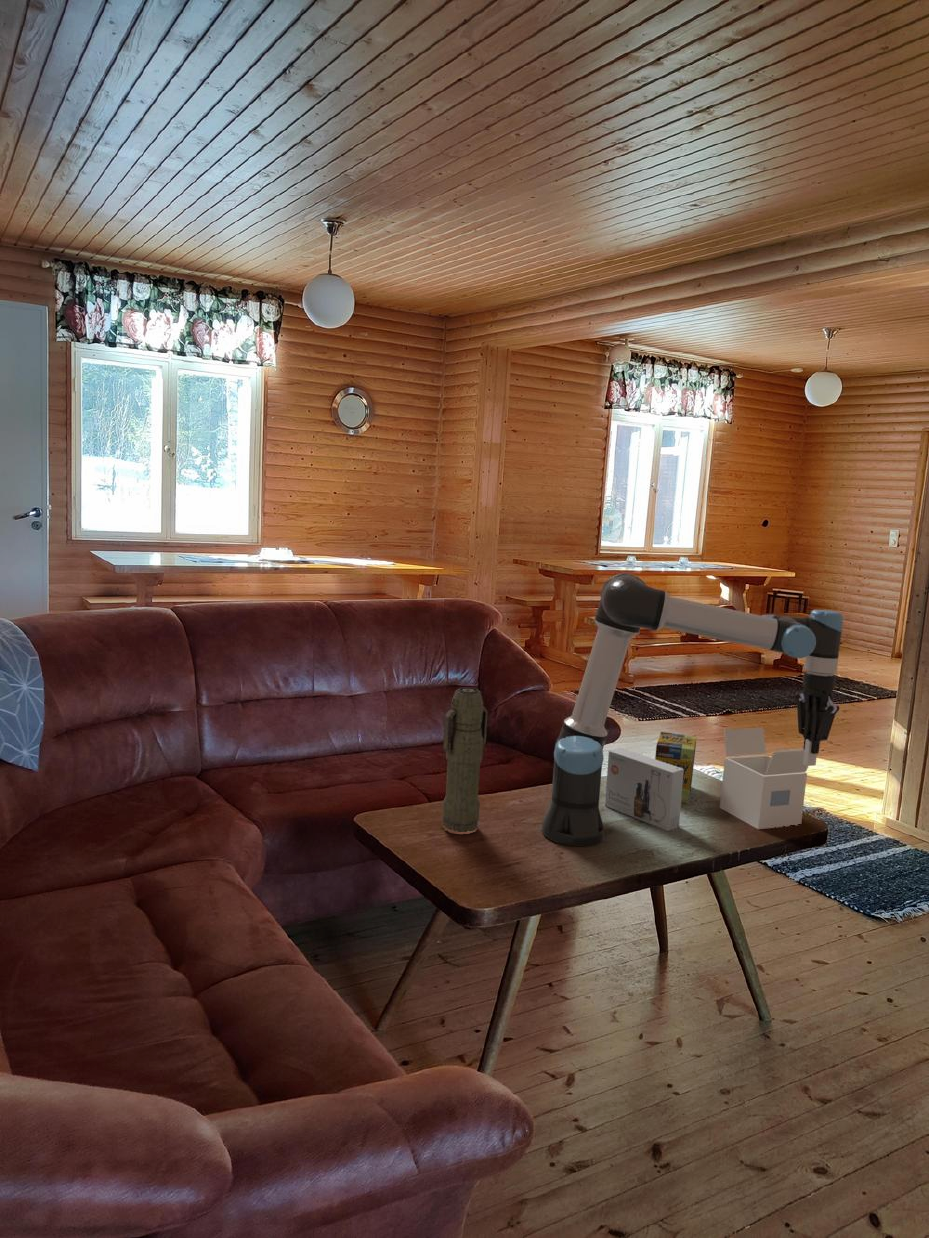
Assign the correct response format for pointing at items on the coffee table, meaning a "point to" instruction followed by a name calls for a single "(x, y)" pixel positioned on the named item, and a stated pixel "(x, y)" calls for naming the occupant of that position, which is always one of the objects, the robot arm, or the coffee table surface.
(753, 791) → the carton
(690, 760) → the protein box
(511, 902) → the coffee table surface
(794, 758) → the near flap
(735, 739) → the far flap
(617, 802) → the skincare box
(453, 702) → the thermos
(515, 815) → the coffee table surface
